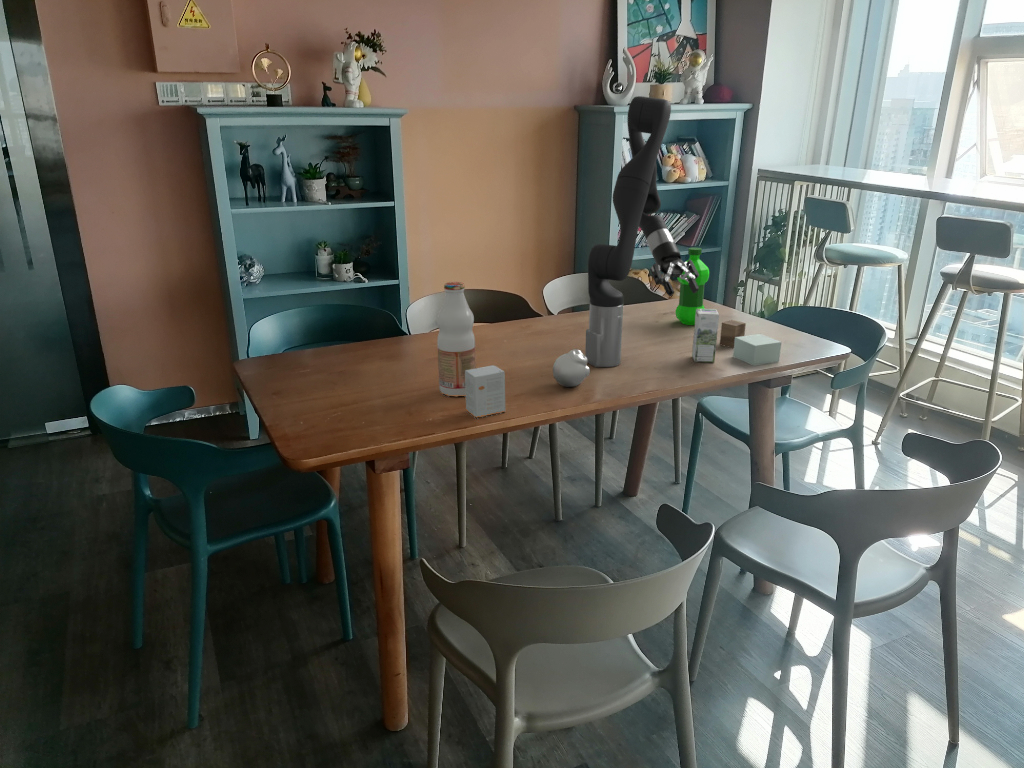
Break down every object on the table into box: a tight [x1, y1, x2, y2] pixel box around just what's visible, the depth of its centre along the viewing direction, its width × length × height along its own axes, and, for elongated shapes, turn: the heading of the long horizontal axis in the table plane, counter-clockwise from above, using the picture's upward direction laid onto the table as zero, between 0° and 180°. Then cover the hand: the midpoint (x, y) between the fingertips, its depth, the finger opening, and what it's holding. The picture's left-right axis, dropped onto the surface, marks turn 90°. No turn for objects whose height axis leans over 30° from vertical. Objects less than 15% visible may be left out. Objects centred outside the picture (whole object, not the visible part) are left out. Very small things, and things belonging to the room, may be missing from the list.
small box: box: [465, 364, 506, 417], centre depth 176 cm, size 8×6×10 cm
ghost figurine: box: [552, 348, 591, 388], centre depth 193 cm, size 9×10×10 cm
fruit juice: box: [436, 281, 477, 395], centre depth 187 cm, size 9×9×28 cm
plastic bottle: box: [674, 247, 710, 326], centre depth 248 cm, size 10×10×25 cm
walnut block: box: [719, 319, 747, 349], centre depth 227 cm, size 5×5×7 cm
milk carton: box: [691, 308, 720, 363], centre depth 212 cm, size 6×6×14 cm
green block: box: [732, 333, 782, 366], centre depth 214 cm, size 9×9×6 cm
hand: (684, 293), depth 218 cm, fingers open, 8 cm apart
